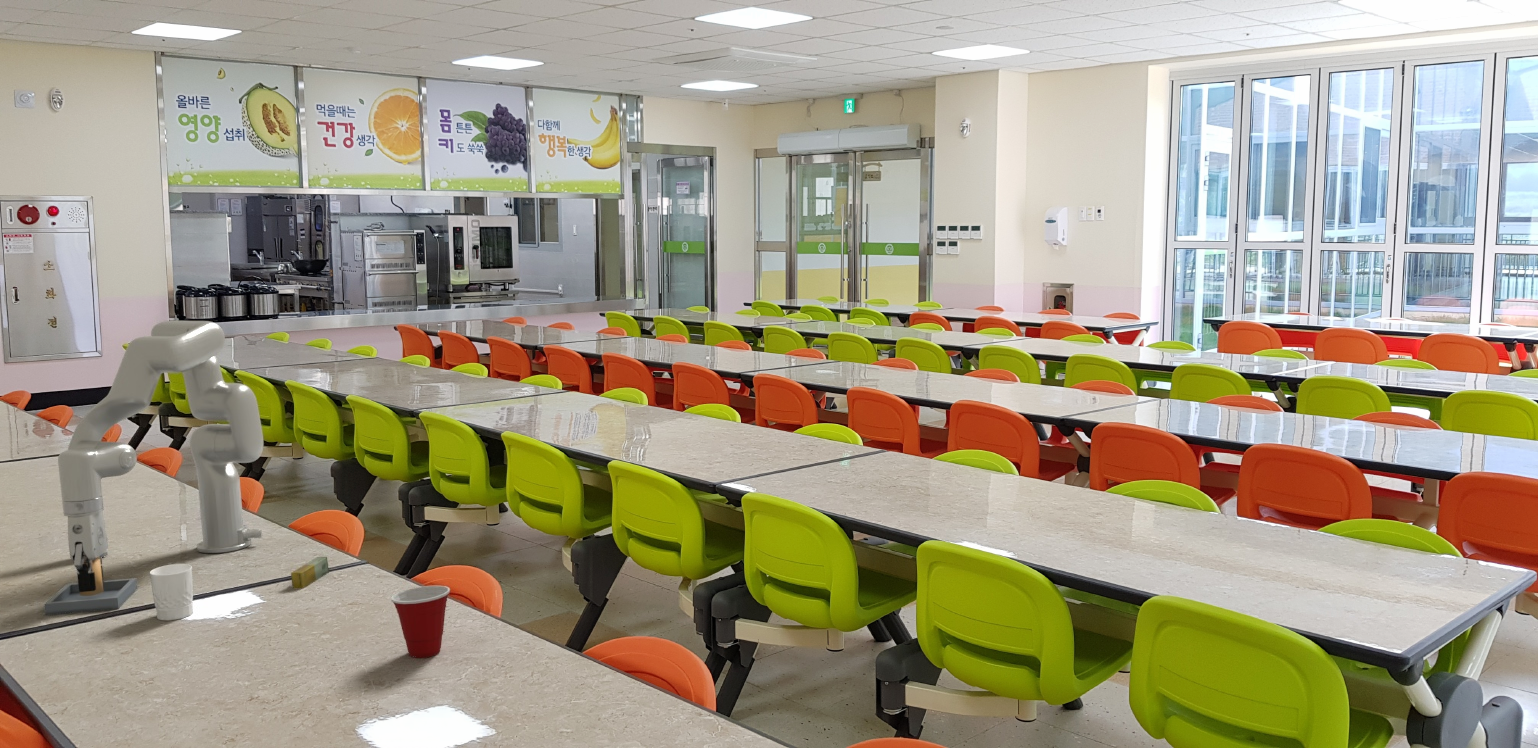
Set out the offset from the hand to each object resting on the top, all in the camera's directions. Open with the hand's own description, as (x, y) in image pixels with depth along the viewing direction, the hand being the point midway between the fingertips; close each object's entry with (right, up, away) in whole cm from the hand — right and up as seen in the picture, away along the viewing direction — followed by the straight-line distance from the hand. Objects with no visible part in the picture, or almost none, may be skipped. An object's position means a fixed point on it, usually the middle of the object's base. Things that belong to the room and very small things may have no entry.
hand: (91, 586), depth 250 cm
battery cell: (0, -1, 0) cm, 1 cm away
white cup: (+23, -5, -9) cm, 25 cm away
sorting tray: (0, -3, 0) cm, 3 cm away
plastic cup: (+82, -7, -32) cm, 89 cm away
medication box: (+43, -1, +13) cm, 45 cm away
